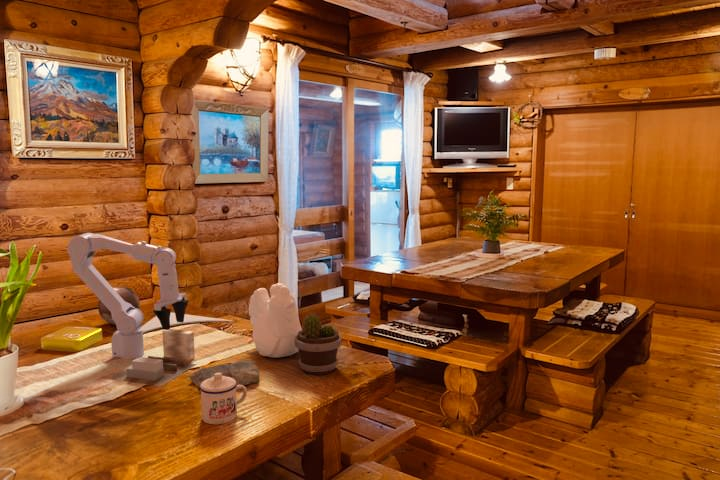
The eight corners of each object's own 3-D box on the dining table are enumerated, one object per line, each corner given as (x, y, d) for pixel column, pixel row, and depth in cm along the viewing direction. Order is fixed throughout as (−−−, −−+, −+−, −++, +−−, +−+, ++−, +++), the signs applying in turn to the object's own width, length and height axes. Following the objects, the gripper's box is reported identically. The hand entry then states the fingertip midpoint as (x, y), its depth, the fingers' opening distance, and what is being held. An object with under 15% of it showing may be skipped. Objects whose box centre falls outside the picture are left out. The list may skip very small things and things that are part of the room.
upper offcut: (132, 369, 167) (131, 361, 167) (140, 364, 171) (140, 356, 170) (155, 372, 165) (154, 363, 165) (163, 367, 168) (162, 359, 168)
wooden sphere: (91, 329, 217) (88, 291, 215) (112, 318, 232) (110, 282, 230) (128, 330, 216) (126, 292, 213) (147, 319, 230) (145, 283, 228)
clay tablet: (193, 396, 158) (264, 384, 165) (192, 379, 157) (263, 368, 165) (187, 379, 170) (253, 369, 178) (186, 364, 170) (252, 353, 177)
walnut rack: (108, 382, 167) (107, 372, 166) (148, 361, 184) (148, 352, 183) (160, 389, 161) (160, 379, 161) (196, 367, 178) (196, 358, 178)
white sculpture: (312, 358, 187) (311, 284, 183) (267, 367, 179) (265, 290, 175) (282, 337, 208) (280, 270, 204) (240, 344, 200) (238, 275, 196)
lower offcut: (126, 376, 168) (126, 368, 168) (135, 371, 172) (135, 363, 172) (155, 380, 165) (154, 372, 165) (163, 375, 169) (163, 367, 169)
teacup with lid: (208, 429, 138) (206, 383, 136) (196, 414, 146) (194, 371, 144) (254, 416, 145) (252, 373, 143) (240, 403, 152) (239, 362, 151)
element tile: (105, 339, 207) (104, 326, 206) (78, 353, 192) (77, 339, 192) (68, 337, 209) (67, 324, 209) (38, 350, 195) (37, 337, 194)
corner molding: (232, 324, 229) (162, 315, 233) (232, 320, 228) (162, 311, 232) (200, 356, 200) (121, 344, 204) (200, 351, 200) (121, 340, 204)
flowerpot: (314, 357, 187) (313, 298, 184) (352, 367, 178) (351, 305, 175) (284, 371, 175) (282, 308, 172) (322, 382, 167) (322, 316, 164)
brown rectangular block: (163, 357, 185) (162, 331, 184) (168, 355, 187) (167, 328, 186) (190, 361, 182) (189, 333, 181) (194, 358, 184) (193, 331, 183)
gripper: (165, 291, 177) (170, 333, 179) (192, 280, 190) (196, 319, 192) (146, 290, 179) (151, 332, 181) (174, 280, 192) (178, 318, 195)
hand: (173, 325), depth 187 cm, fingers open, 7 cm apart
